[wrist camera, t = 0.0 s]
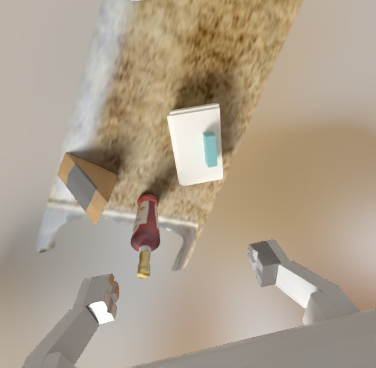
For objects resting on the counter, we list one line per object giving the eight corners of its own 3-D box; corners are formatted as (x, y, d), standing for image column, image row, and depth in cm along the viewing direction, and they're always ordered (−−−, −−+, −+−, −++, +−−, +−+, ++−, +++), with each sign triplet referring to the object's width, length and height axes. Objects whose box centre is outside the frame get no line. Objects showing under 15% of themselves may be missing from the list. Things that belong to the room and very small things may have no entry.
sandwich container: (65, 150, 54) (37, 174, 41) (118, 174, 60) (108, 202, 47) (56, 175, 57) (27, 204, 44) (107, 195, 63) (95, 226, 50)
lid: (166, 111, 47) (167, 115, 42) (216, 102, 48) (223, 106, 43) (179, 182, 57) (181, 193, 52) (220, 175, 58) (226, 184, 53)
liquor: (143, 188, 63) (135, 258, 39) (162, 196, 66) (167, 268, 41) (133, 204, 65) (120, 280, 41) (152, 212, 68) (151, 287, 44)
